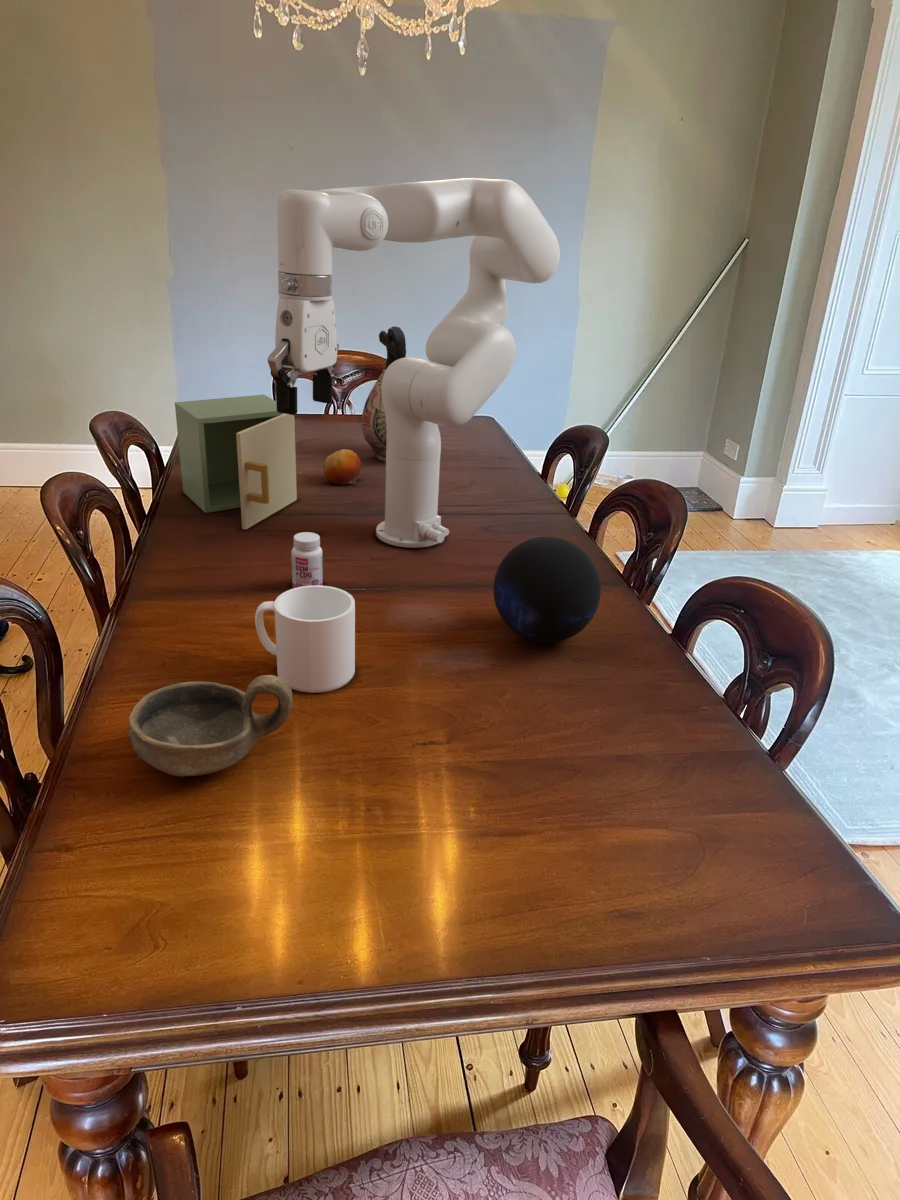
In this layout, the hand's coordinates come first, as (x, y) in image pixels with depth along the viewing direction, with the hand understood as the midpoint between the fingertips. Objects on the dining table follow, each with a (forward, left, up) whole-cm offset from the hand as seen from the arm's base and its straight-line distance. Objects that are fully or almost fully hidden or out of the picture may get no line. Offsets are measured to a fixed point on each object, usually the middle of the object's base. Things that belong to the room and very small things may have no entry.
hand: (305, 407), depth 125 cm
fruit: (+32, -31, -27) cm, 52 cm away
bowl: (-34, +37, -27) cm, 57 cm away
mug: (-26, +19, -27) cm, 42 cm away
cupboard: (+37, -9, -27) cm, 46 cm away
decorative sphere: (-39, -13, -27) cm, 49 cm away
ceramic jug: (+38, -51, -27) cm, 69 cm away
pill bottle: (-5, +4, -27) cm, 28 cm away
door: (+23, -9, -27) cm, 36 cm away
